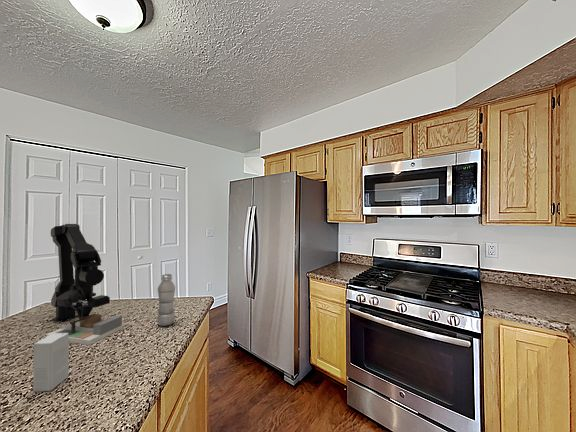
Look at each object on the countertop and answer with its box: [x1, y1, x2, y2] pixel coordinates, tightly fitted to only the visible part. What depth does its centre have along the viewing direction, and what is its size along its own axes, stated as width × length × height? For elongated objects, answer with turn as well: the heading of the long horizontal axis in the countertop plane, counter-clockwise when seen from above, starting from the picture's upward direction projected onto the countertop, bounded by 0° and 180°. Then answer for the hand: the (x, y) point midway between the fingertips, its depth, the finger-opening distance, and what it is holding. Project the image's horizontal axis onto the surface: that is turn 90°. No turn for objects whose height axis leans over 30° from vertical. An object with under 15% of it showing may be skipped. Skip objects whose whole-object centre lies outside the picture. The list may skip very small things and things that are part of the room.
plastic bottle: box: [156, 273, 176, 327], centre depth 106 cm, size 6×7×20 cm
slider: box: [69, 313, 102, 334], centre depth 96 cm, size 4×10×4 cm, turn 167°
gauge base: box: [45, 315, 125, 346], centre depth 97 cm, size 19×14×5 cm
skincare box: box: [32, 333, 70, 393], centre depth 67 cm, size 6×4×12 cm
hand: (83, 322), depth 99 cm, fingers closed
